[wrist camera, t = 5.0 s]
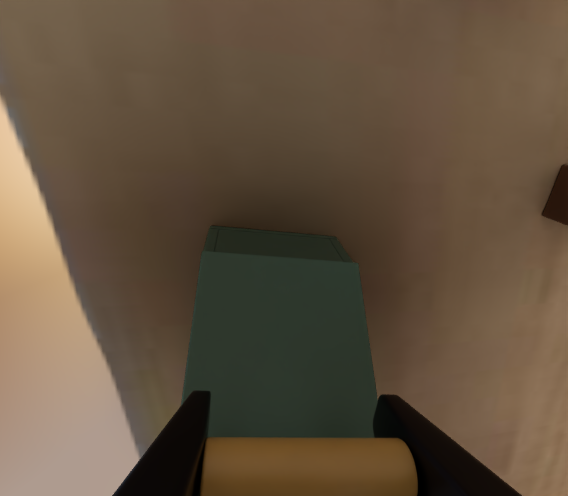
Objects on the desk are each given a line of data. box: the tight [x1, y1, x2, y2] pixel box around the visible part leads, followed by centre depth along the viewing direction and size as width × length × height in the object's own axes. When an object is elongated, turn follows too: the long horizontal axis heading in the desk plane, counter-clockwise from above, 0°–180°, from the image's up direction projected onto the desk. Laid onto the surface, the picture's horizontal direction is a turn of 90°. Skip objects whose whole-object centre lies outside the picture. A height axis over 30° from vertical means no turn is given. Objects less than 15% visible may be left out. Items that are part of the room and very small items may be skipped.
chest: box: [203, 226, 353, 263], centre depth 17 cm, size 12×6×3 cm, turn 173°
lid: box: [181, 251, 418, 496], centre depth 8 cm, size 12×6×4 cm
